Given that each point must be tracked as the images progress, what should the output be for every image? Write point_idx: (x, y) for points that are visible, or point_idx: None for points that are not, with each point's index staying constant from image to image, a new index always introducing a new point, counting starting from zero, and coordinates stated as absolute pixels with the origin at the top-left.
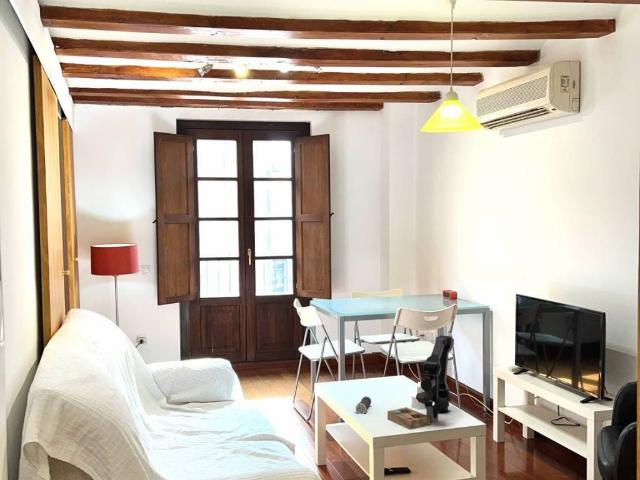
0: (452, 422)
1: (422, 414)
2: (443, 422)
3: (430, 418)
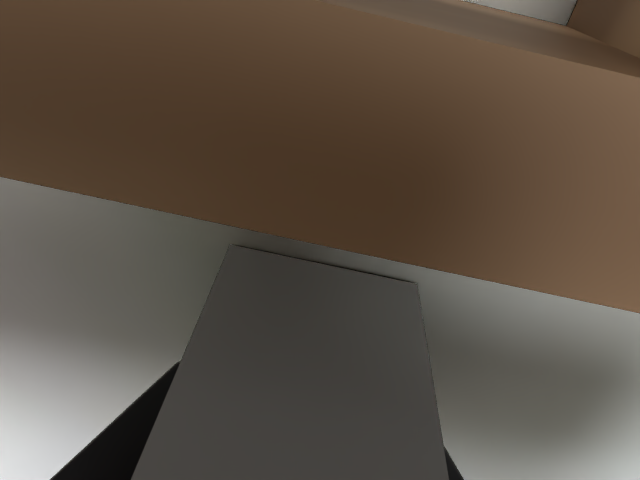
0: (33, 447)
1: (434, 209)
2: (107, 380)
3: (260, 309)
